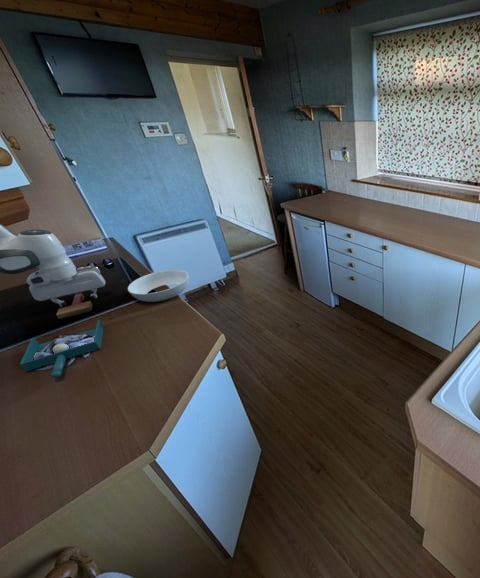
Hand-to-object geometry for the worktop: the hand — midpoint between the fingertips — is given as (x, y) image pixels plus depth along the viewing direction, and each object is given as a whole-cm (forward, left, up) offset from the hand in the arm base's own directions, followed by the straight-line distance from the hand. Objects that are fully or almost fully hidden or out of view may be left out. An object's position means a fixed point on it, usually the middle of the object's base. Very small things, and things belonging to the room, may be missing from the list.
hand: (79, 301), depth 117 cm
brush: (0, -4, -1) cm, 4 cm away
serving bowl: (+28, -11, -1) cm, 30 cm away
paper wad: (-1, -34, +3) cm, 34 cm away
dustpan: (0, -36, -1) cm, 36 cm away
